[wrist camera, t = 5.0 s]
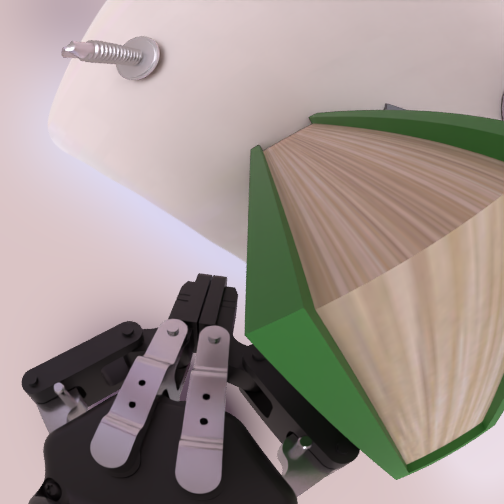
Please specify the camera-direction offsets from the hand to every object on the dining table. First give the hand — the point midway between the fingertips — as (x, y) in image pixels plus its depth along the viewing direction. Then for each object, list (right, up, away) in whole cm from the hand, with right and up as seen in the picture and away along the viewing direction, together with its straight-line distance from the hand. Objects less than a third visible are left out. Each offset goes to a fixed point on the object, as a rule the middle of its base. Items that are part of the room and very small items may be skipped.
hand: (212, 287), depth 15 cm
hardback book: (+10, +7, +13) cm, 18 cm away
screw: (-9, +22, +7) cm, 25 cm away
